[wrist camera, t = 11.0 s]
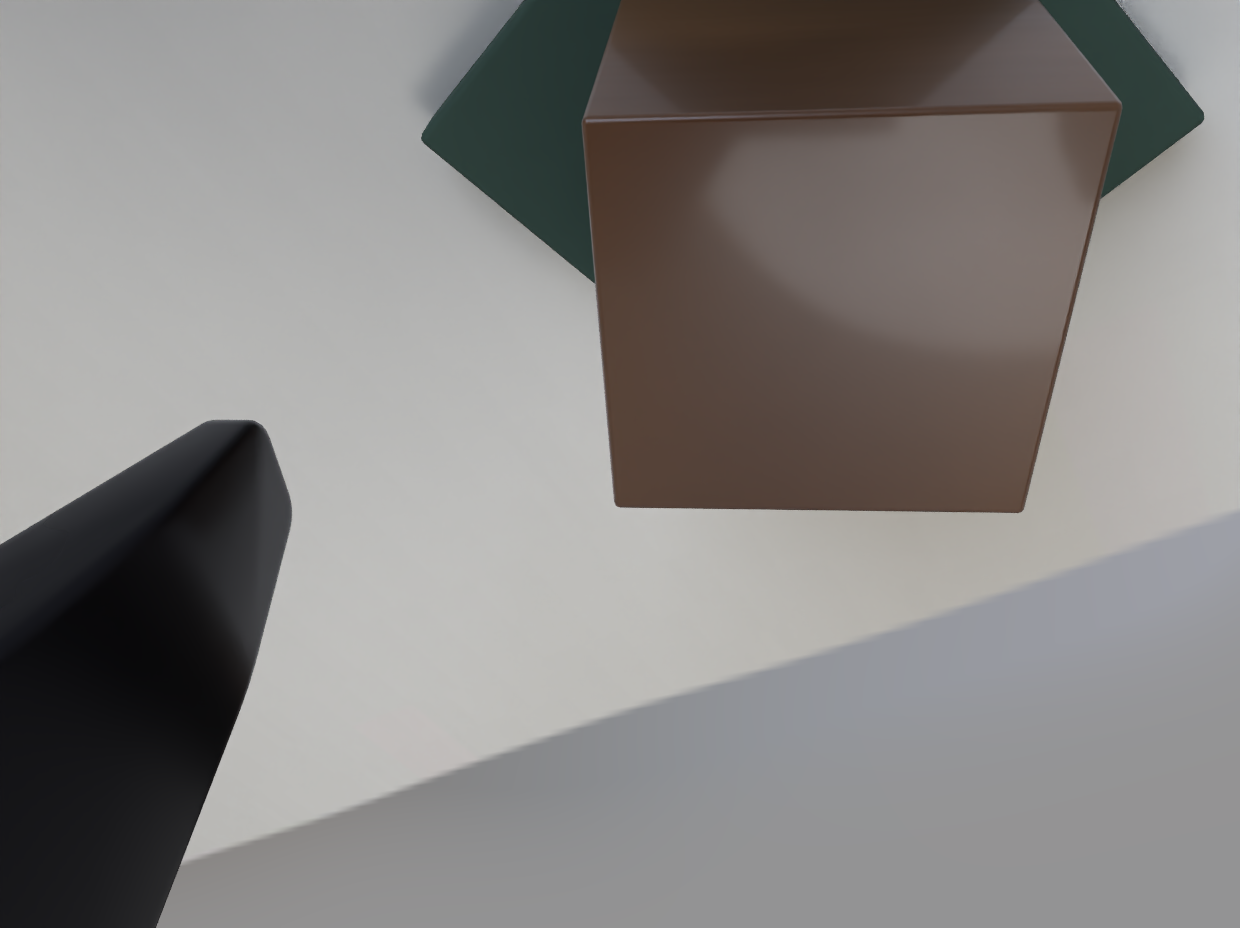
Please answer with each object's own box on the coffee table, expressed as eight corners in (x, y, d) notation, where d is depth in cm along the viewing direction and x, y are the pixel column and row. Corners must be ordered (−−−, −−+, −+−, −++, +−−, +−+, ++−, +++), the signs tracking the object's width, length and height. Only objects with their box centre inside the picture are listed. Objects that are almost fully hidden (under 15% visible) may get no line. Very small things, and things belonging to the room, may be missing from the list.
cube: (1013, -38, 12) (1127, 103, 8) (957, 304, 14) (1024, 515, 11) (625, -20, 12) (579, 117, 9) (642, 307, 15) (614, 508, 11)
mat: (1188, 96, 13) (1210, 120, 12) (780, 410, 17) (782, 441, 16) (816, -373, 10) (820, -373, 10) (431, 118, 14) (416, 140, 14)
